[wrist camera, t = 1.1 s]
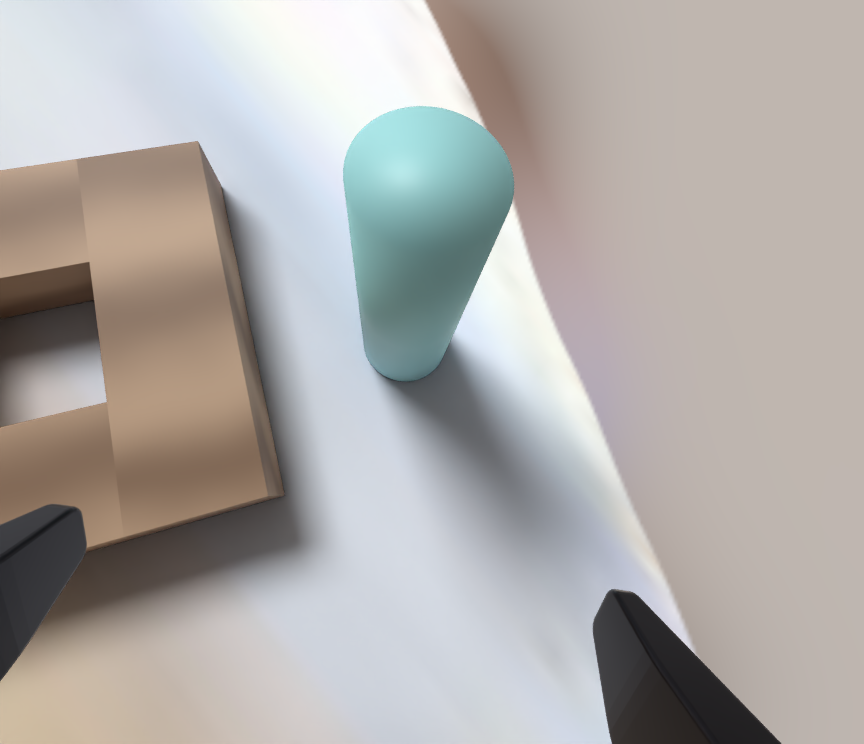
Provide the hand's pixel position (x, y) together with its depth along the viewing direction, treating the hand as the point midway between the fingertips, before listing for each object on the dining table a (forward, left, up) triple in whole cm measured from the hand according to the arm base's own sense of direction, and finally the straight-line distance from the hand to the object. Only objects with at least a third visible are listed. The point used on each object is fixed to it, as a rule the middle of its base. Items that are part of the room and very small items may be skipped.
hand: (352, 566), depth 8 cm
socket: (+6, +14, -13) cm, 20 cm away
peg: (+8, -1, -13) cm, 15 cm away
